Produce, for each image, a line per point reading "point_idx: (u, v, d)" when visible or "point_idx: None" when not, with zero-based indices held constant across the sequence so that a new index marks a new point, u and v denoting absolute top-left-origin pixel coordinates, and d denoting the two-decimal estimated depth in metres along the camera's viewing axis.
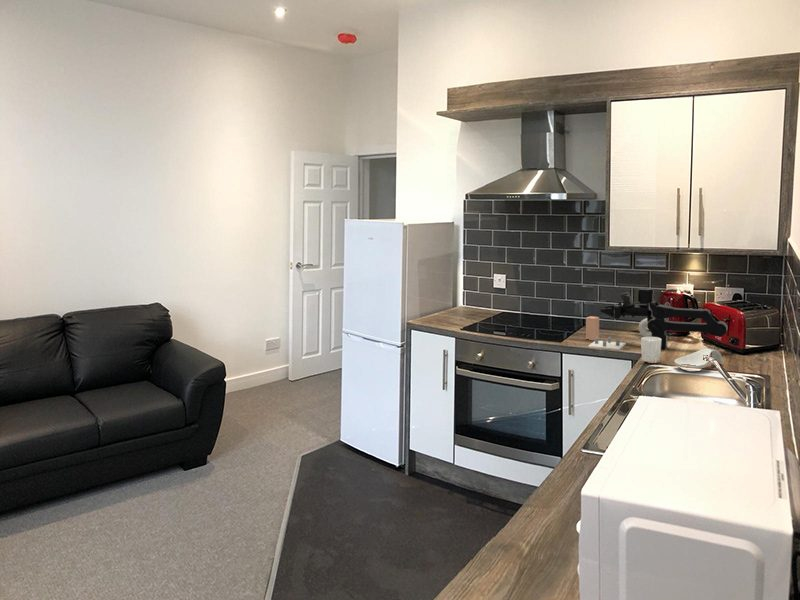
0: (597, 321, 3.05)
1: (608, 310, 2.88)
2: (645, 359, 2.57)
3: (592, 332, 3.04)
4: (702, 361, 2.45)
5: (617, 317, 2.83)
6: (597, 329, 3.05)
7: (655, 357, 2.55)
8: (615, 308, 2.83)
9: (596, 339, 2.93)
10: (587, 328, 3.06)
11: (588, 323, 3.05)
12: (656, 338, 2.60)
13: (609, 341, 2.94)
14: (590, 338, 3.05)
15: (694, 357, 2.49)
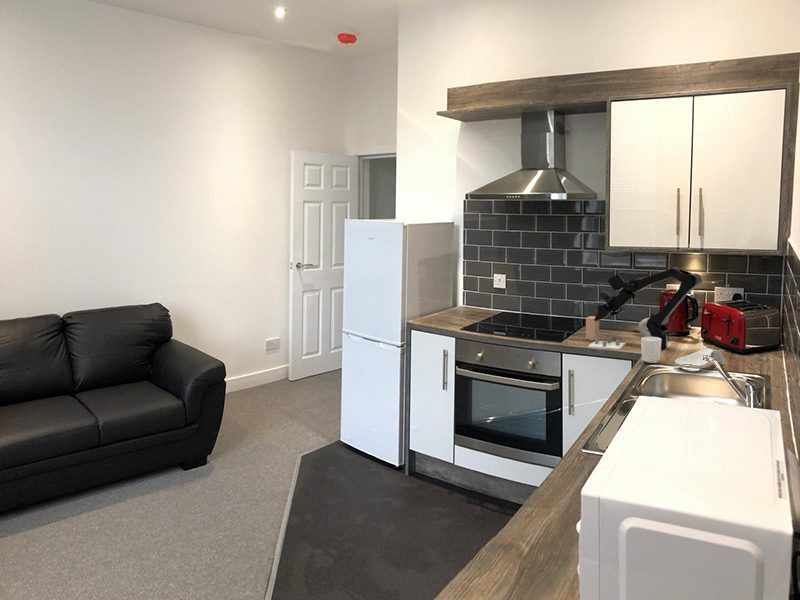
0: (597, 321, 3.05)
1: (598, 315, 2.97)
2: (645, 359, 2.57)
3: (592, 332, 3.04)
4: (703, 361, 2.45)
5: (605, 313, 2.91)
6: (597, 329, 3.05)
7: (655, 357, 2.55)
8: (598, 308, 2.93)
9: (596, 339, 2.93)
10: (587, 328, 3.06)
11: (588, 323, 3.05)
12: (656, 338, 2.60)
13: (609, 341, 2.94)
14: (590, 338, 3.05)
15: (695, 357, 2.49)
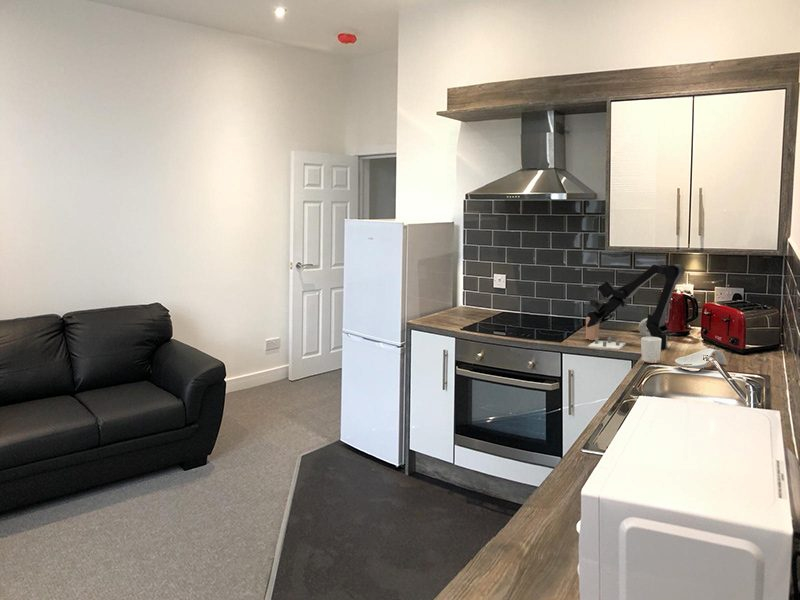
0: None
1: (591, 321, 3.02)
2: (645, 359, 2.57)
3: (592, 332, 3.04)
4: (703, 361, 2.45)
5: (595, 320, 2.95)
6: (597, 329, 3.05)
7: (655, 357, 2.55)
8: (588, 315, 2.97)
9: (596, 339, 2.93)
10: (587, 328, 3.06)
11: None
12: (656, 338, 2.60)
13: (609, 341, 2.94)
14: (590, 338, 3.05)
15: (696, 357, 2.49)
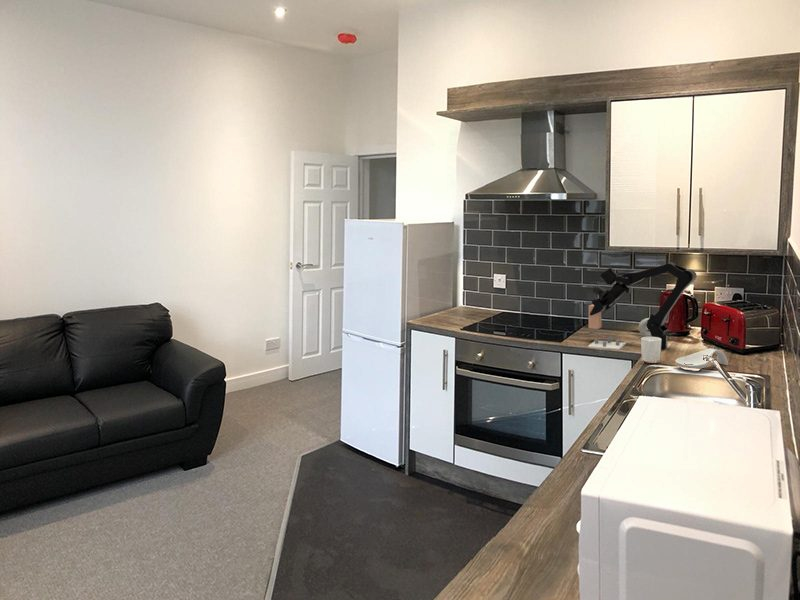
0: None
1: (594, 309, 2.97)
2: (645, 359, 2.57)
3: (595, 320, 2.99)
4: (704, 361, 2.46)
5: (600, 308, 2.89)
6: (599, 317, 3.00)
7: (655, 357, 2.55)
8: (593, 303, 2.91)
9: (596, 339, 2.93)
10: (590, 316, 3.00)
11: None
12: (656, 338, 2.60)
13: (609, 341, 2.94)
14: (593, 326, 3.00)
15: (697, 357, 2.49)
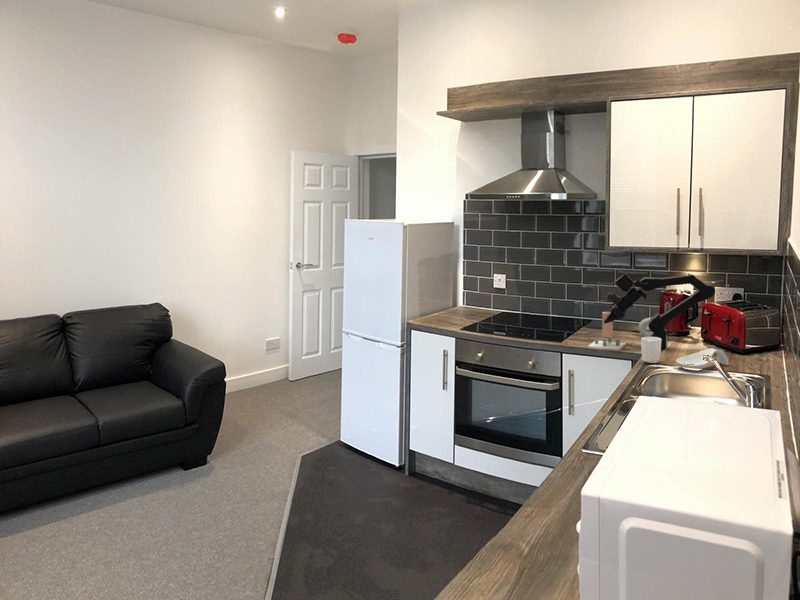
0: None
1: (610, 317, 2.85)
2: (645, 359, 2.57)
3: (609, 328, 2.88)
4: (704, 361, 2.46)
5: (622, 315, 2.78)
6: None
7: (655, 357, 2.55)
8: (614, 310, 2.79)
9: (596, 339, 2.93)
10: (604, 324, 2.88)
11: (605, 319, 2.88)
12: (656, 338, 2.60)
13: (609, 341, 2.94)
14: (607, 335, 2.88)
15: (697, 357, 2.49)
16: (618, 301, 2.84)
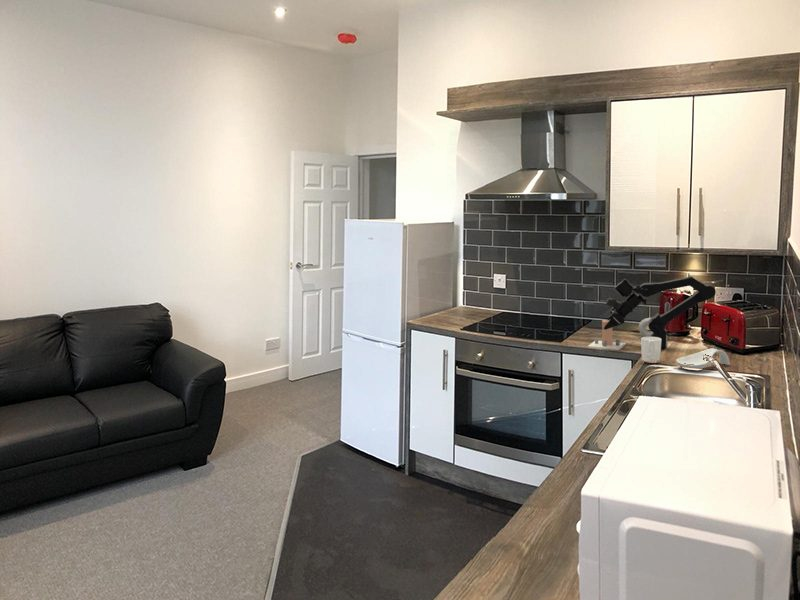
0: None
1: (610, 323, 2.84)
2: (645, 359, 2.57)
3: (609, 336, 2.88)
4: (705, 361, 2.46)
5: (622, 321, 2.79)
6: None
7: (655, 357, 2.55)
8: (614, 316, 2.79)
9: (596, 339, 2.93)
10: (603, 333, 2.89)
11: None
12: (656, 338, 2.60)
13: None
14: (607, 343, 2.89)
15: (698, 357, 2.49)
16: (618, 307, 2.85)
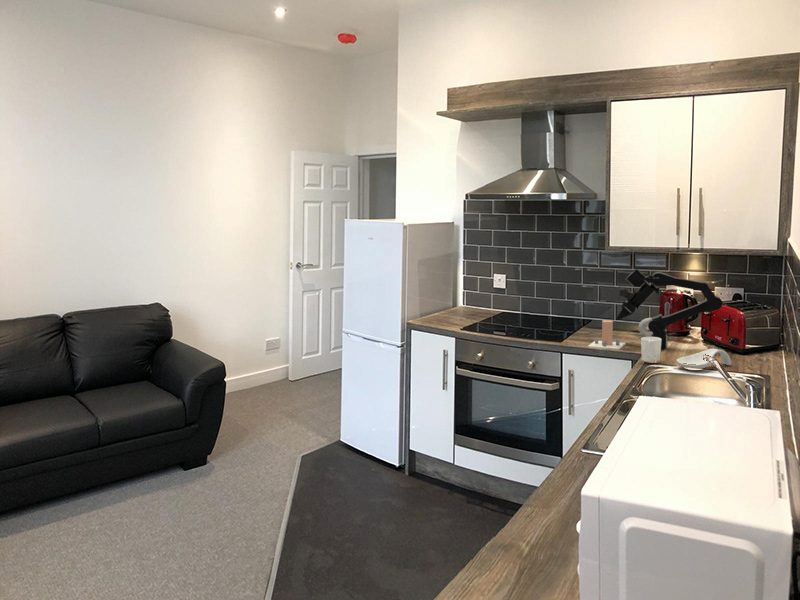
0: None
1: (622, 313, 2.83)
2: (645, 359, 2.57)
3: (609, 336, 2.88)
4: (706, 361, 2.46)
5: (633, 309, 2.77)
6: None
7: (655, 357, 2.55)
8: (624, 305, 2.79)
9: (596, 339, 2.93)
10: (603, 333, 2.89)
11: (605, 328, 2.88)
12: (656, 338, 2.60)
13: None
14: (607, 343, 2.89)
15: (699, 357, 2.49)
16: (630, 296, 2.83)
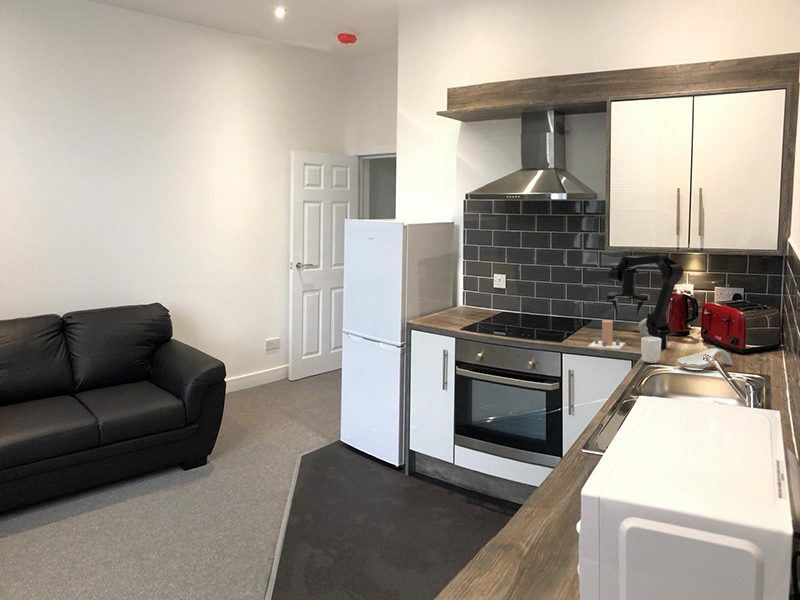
0: None
1: None
2: (645, 359, 2.57)
3: (609, 336, 2.88)
4: (706, 361, 2.46)
5: (607, 296, 3.01)
6: None
7: (655, 357, 2.55)
8: None
9: (596, 339, 2.93)
10: (603, 333, 2.89)
11: (605, 328, 2.88)
12: (656, 338, 2.60)
13: None
14: (607, 343, 2.89)
15: (700, 356, 2.49)
16: None
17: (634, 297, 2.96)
